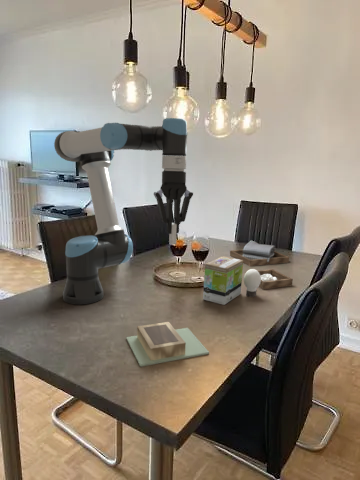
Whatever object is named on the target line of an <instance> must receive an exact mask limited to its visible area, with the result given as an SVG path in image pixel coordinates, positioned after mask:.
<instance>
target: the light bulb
mask: <svg viewBox="0 0 360 480" xmlns="http://www.w3.org/2000/svg"><path fill="white" fill-rule="evenodd" d="M258 271H259V270H257V269H255V268H250V269H248V270H247V271H245V272H246V273H245V272H244V276H243V283H244V286H245V287H246V290H245V295H246V296H247V297H253V298H254V297H257V292H258V291H257V289H258V288H260V287H259V285H260V283H261V276H260V274H259V272H258Z"/></svg>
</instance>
